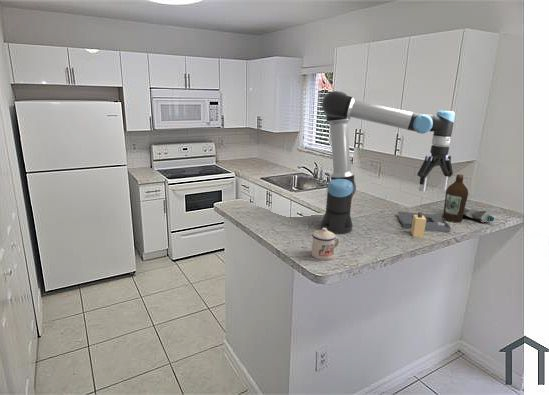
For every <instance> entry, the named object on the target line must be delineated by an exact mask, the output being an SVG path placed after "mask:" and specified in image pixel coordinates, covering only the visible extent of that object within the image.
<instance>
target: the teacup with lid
mask: <svg viewBox="0 0 549 395" xmlns="http://www.w3.org/2000/svg"><path fill="white" fill-rule="evenodd" d="M311 235H312V243H311V256H312V257H313V258H314V259H317V260H320V261H321V260H322V261H323V260H324V261H327V260H328V261H329V260H331V259H332V258H333V257H334V251H335V250H334V249H336V248H337V247H338V246H339V245H340V238H339V237H337V236H336V233H332V232H330V231H328V230H327V228H321V229H319V230H316V231H313V232H312V234H311ZM335 240H336V243H335Z"/></svg>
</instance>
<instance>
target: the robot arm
mask: <svg viewBox="0 0 549 395" xmlns="http://www.w3.org/2000/svg"><path fill="white" fill-rule="evenodd" d="M321 108H322V111H323V112H324V114H325V116H326V123H328V124H329V127H330V143H331V155H332V156H331V158H332V167H333V168H332V169H333V172H332V173H331V175H330V180H329V182H328V185H327V188H326V189H327V194H326V205H325V206H326V207H325V212H324V215H323V218H322V220H321V223H320V227H321V229H322V228H327V230H328V231H330V232H332V233H334V234H348V233H351V232H352V231H353V228H354V227H353V221H352V217H351V210H352V202H353V201H352V199H353V197H354V196H355V193H356V191H357V185H356V182H355V174H354V172H352V169H351V154H350V138H349V124H348V123H349V122H350V121H351V118H354V119H358V120H362V121H367V122H371V123H377V124H380V125H386V126H390V127H394V128H398V129H402V130H403V129H404V130H407V131H412V132H416V133H418V134H421V135H422V134H426V133H428V132H430V133H431V132H433V134H432V139H431V146H430V153H431V155H430V156H429V155H426V156H425V157H424V161H423V163H422V165H421V167H419V168H420V169H419V170H418V172H417V173H416V174H417V176H418V177H420V178H419V189H418V191H420V192H422V193H425V191H426V187H427V179H428V178H427V176H428V175H429V173H430V172H431V171H432V170H433V169H434V168H435V167H437V166H439V167H440V170H441V172H442V176H441V181H440V187H439V189H440V190H443V191H446V190H447V185H448V182H449V178H451V177H452V176H453V173H454V172H453V167H452V161H451V160H452V156H451V155H448V154H449V150H450V147H449V146H450V144H451V139H452V134H453V129H454V125H455V124H454V123H455V116H456V113H455V112H454V111H452V110H437V111H436V114H425V113H417V112H413V111H408V110H403V109H398V108H394V107H390V106H386V105H385V106H384V105H380V104H376V103H371V102H367V101H363V100H361V101H360V100H357V99H355V97H354V96H349V95H348V94H347V93H345V92H343V91H338V90H337V91H335V90H334V91H329V92H328V93H326V95H324V97H323V99H322V102H321Z"/></svg>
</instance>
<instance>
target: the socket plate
mask: <svg viewBox="0 0 549 395" xmlns="http://www.w3.org/2000/svg"><path fill="white" fill-rule="evenodd" d="M396 214H397V218H398V220H399V222H400V225H401V226H402V228H403V229H410V230H411V228H412V222H413V215H418V212H407V211H397V213H396ZM423 216H424V217H425V218H426V221H428V222H426V224H425V230H424V231H429V230H431V231H430V232H439V231H440V232H441V233H449V232H450V233H451V229H452V227H451V226H450V225H449V224H448V223H447V221H446V220H444V219H443V216H441V215H440V214H432V213H431V214H429V213H423Z"/></svg>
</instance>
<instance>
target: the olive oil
mask: <svg viewBox="0 0 549 395" xmlns="http://www.w3.org/2000/svg"><path fill="white" fill-rule="evenodd" d="M468 197H469V190H468V188H467V187H466V185H465V183H464V175H463V174H456V178H455V181H454V182H453V183H452V184H450V185H449V186H448V187H446V190H445V199H444V205H443V206H444V207H443V211H442V212H443V213H442V218H444V219H446V220H449V221H448V222H450V221H454V222H453V223H460V222H459V221H461V222H462V220H463V216H464V215H463V213H464V209H465V208H466V205H467V200H468ZM446 220H445V221H446Z"/></svg>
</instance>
